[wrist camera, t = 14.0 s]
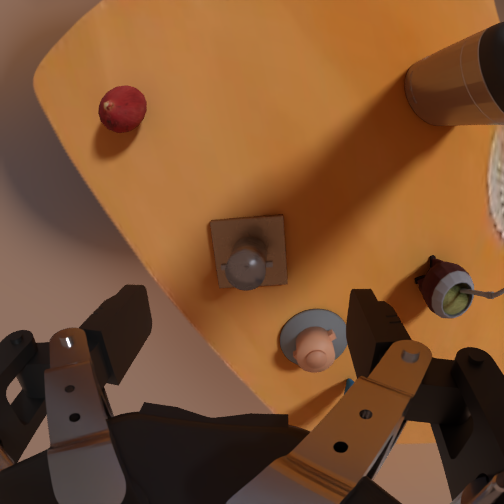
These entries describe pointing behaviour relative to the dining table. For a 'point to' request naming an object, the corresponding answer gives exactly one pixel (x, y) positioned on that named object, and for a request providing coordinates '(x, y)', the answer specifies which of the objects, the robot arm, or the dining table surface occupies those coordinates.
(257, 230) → the cylinder on square base
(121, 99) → the onion
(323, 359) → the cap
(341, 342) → the coaster
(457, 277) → the mate gourd
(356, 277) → the dining table surface
